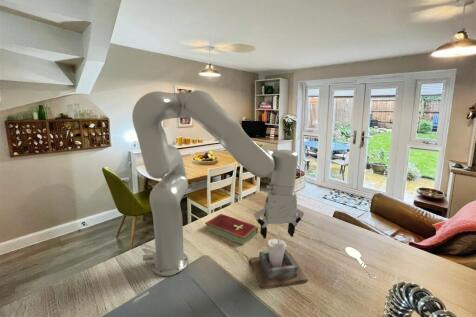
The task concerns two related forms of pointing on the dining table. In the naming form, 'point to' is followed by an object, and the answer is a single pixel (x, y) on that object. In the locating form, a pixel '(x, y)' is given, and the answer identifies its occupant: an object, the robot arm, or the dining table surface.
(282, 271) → the holder
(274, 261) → the smoothie
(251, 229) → the hardcover book
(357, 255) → the spoon
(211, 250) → the dining table surface
